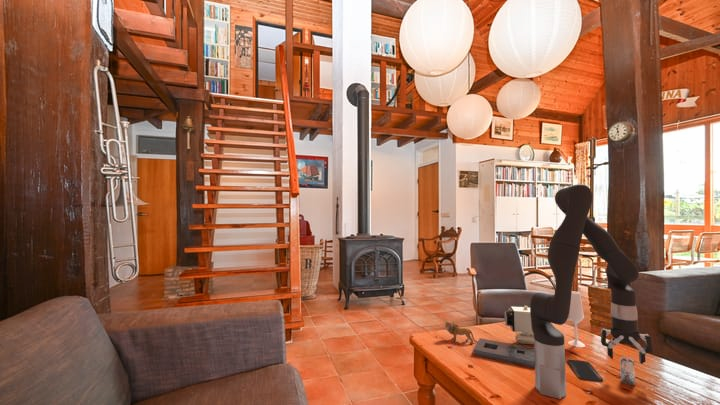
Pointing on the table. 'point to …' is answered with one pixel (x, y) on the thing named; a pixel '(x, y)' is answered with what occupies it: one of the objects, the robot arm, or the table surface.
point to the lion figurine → (458, 331)
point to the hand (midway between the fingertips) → (626, 360)
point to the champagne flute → (576, 316)
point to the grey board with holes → (505, 352)
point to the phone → (584, 370)
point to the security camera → (520, 324)
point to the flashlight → (627, 371)
